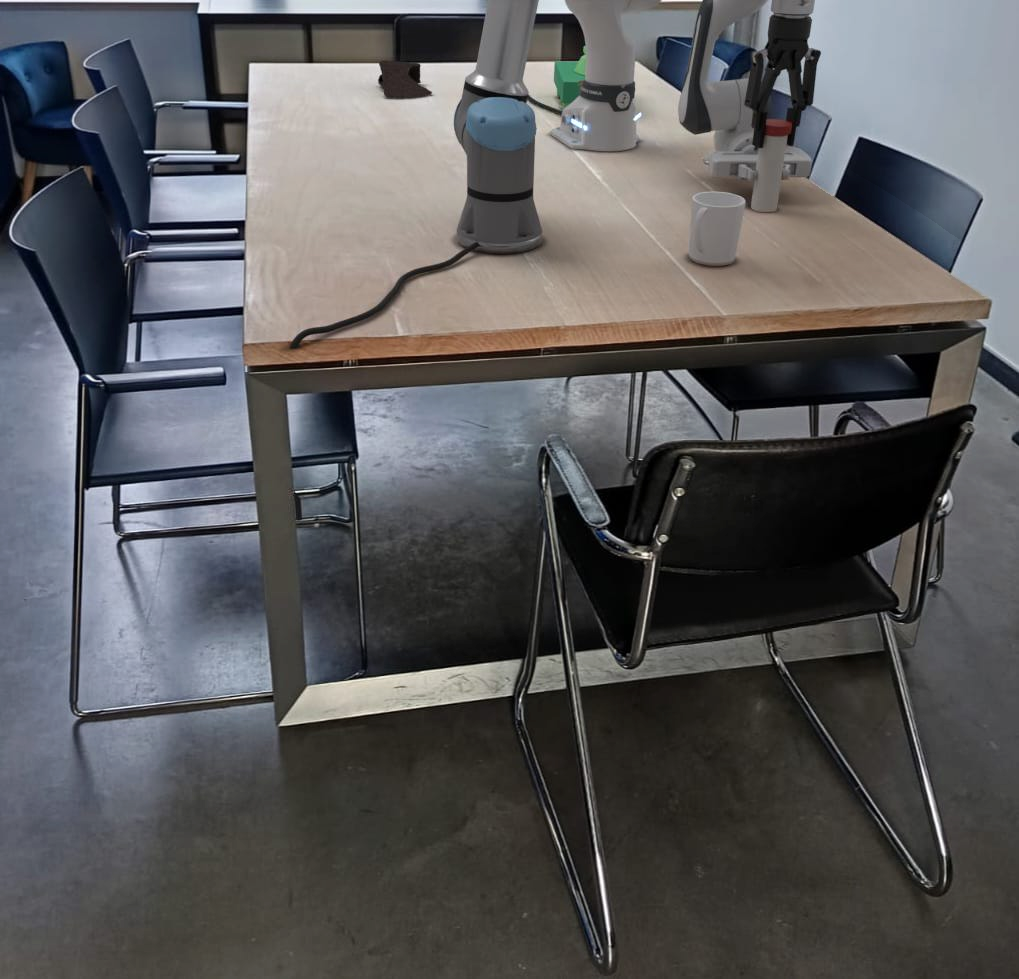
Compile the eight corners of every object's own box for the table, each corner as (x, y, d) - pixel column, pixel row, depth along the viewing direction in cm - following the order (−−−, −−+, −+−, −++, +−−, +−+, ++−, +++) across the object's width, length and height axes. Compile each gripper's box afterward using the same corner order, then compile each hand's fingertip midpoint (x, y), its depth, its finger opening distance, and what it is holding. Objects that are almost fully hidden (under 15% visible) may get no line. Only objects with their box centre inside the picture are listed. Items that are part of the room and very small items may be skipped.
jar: (774, 213, 213) (787, 129, 204) (748, 210, 214) (760, 127, 206) (778, 206, 217) (790, 123, 208) (753, 203, 218) (764, 121, 210)
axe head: (443, 87, 294) (392, 77, 287) (436, 115, 299) (385, 106, 292) (421, 62, 307) (371, 52, 300) (414, 89, 311) (365, 80, 304)
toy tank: (616, 42, 301) (635, 67, 272) (613, 89, 308) (630, 118, 278) (553, 41, 300) (564, 66, 271) (550, 88, 307) (561, 117, 277)
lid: (792, 136, 205) (794, 127, 204) (759, 135, 205) (760, 125, 205) (789, 128, 210) (790, 119, 209) (757, 127, 211) (758, 118, 210)
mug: (702, 245, 195) (709, 188, 190) (747, 257, 190) (755, 198, 185) (669, 261, 188) (675, 202, 182) (714, 274, 183) (722, 213, 177)
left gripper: (755, 19, 191) (738, 153, 203) (848, 16, 197) (826, 147, 209) (734, 13, 197) (719, 143, 209) (825, 10, 203) (805, 137, 215)
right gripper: (701, 141, 220) (719, 159, 209) (800, 141, 222) (823, 159, 210) (698, 172, 224) (715, 192, 212) (795, 172, 225) (817, 191, 214)
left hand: (772, 145), depth 209 cm, fingers closed on lid, 6 cm apart
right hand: (770, 175), depth 211 cm, fingers closed on jar, 5 cm apart
